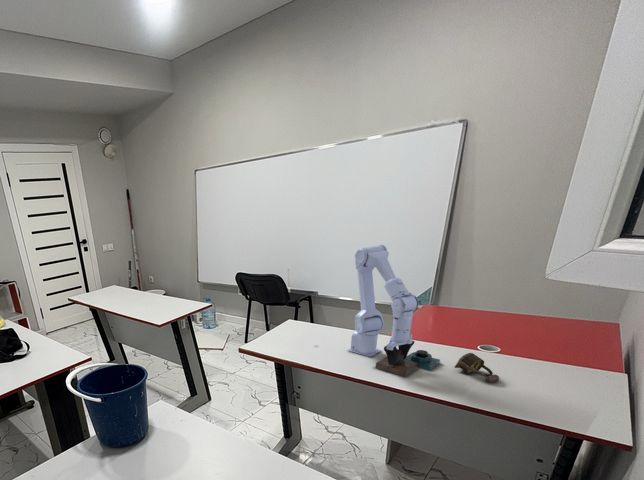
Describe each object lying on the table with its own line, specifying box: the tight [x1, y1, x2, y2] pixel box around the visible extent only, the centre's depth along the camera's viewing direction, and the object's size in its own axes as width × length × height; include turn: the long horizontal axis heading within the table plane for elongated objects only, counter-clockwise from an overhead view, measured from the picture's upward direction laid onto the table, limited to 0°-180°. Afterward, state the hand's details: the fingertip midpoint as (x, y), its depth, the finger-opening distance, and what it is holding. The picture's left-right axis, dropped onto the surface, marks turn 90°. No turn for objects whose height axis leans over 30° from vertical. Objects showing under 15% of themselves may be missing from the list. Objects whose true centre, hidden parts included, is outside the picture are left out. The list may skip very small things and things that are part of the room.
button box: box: [404, 351, 441, 371], centre depth 138 cm, size 10×8×4 cm
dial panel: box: [375, 356, 419, 378], centre depth 136 cm, size 11×9×3 cm
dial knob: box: [395, 352, 404, 365], centre depth 135 cm, size 4×4×4 cm
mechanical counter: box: [454, 352, 500, 383], centre depth 125 cm, size 7×13×10 cm
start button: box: [415, 349, 429, 357], centre depth 137 cm, size 4×4×2 cm
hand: (397, 361), depth 136 cm, fingers open, 7 cm apart
